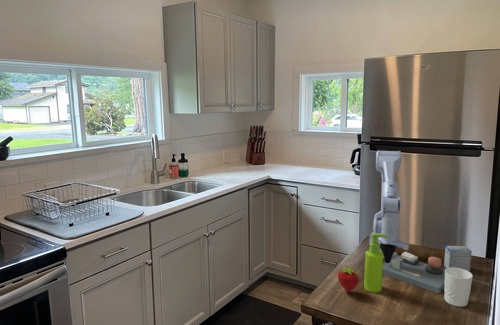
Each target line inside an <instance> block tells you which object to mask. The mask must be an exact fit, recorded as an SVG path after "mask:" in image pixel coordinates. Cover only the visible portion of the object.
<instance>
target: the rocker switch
mask: <svg viewBox="0 0 500 325" xmlns="http://www.w3.org/2000/svg"><path fill="white" fill-rule="evenodd" d="M400 256H401V257H402V258H404V259H406V260H409V261H411V262H413V263H414V262H415V261H417V260H419V257H418V256H416V255H414V254H412V253H409V252H407V251H404V252H403V253H401V254H400Z"/></svg>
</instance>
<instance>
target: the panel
mask: <svg viewBox="0 0 500 325" xmlns="http://www.w3.org/2000/svg"><path fill="white" fill-rule="evenodd" d="M394 257H398V258H401V259H403V266H402V269H400V270H397V269H394V268H392V259H393V258H394ZM394 257H392V258H391V262H390V263H385V262H383V271H382V275H384V276H388V277H390V278H393V279H395V278H396V280H398V279H399V281H402V282H404V283H407V284H409V285H414V286H415V287H419V288H421V289H423V290H428V291H429V292H433V293H436V294H439V293H440V292H442V291H443V290H444V287H445V286H444V282H445V269H446V268H445V269H444V268H443V267H442V266H441V267H440V268H434V267H430V266H429V265H428V263H425V262H421V261H420V260H419V259H418V260H417V261H415V262H414V263H413V262H411V261H409V260H406V259H404V258H402V257H401V255H399V254H397V255H396V256H394Z"/></svg>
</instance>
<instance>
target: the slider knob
mask: <svg viewBox="0 0 500 325" xmlns="http://www.w3.org/2000/svg"><path fill="white" fill-rule="evenodd" d="M392 258H393V257H392ZM392 258H391V259H392ZM402 266H403V259H401V258H398V257H395V256H394V258H393V259H392V268H394V269H397V270H400V269H402Z"/></svg>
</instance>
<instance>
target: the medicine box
mask: <svg viewBox="0 0 500 325" xmlns="http://www.w3.org/2000/svg"><path fill="white" fill-rule="evenodd" d="M471 261H472V250H471V249H470V248H469V246H467V245H446V246H445V250H444V263H443V265H444V268H445V269H447V268H460V269H464V270H467V271H469V272H470V270H471Z"/></svg>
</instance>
